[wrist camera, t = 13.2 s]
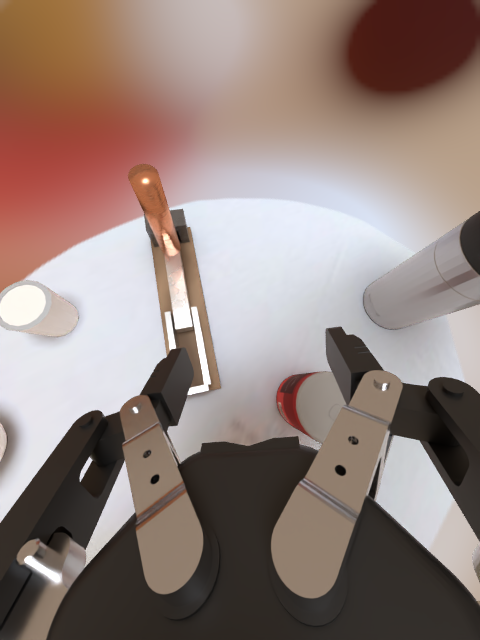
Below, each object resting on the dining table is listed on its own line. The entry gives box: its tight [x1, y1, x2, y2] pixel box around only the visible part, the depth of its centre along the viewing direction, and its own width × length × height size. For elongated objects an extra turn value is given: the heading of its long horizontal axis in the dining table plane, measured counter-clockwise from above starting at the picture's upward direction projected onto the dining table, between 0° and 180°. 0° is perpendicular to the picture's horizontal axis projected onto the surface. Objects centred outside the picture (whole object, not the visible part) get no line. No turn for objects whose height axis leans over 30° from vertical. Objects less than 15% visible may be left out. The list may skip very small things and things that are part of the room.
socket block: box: [144, 209, 190, 247], centre depth 38 cm, size 6×3×4 cm, turn 102°
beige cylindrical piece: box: [0, 280, 79, 337], centre depth 33 cm, size 7×7×7 cm
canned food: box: [277, 371, 347, 444], centre depth 30 cm, size 8×8×11 cm
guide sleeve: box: [165, 306, 212, 395], centre depth 33 cm, size 5×12×3 cm, turn 12°
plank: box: [151, 227, 221, 396], centre depth 37 cm, size 7×28×1 cm, turn 12°
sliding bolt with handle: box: [128, 164, 194, 333], centre depth 30 cm, size 3×18×16 cm, turn 12°
